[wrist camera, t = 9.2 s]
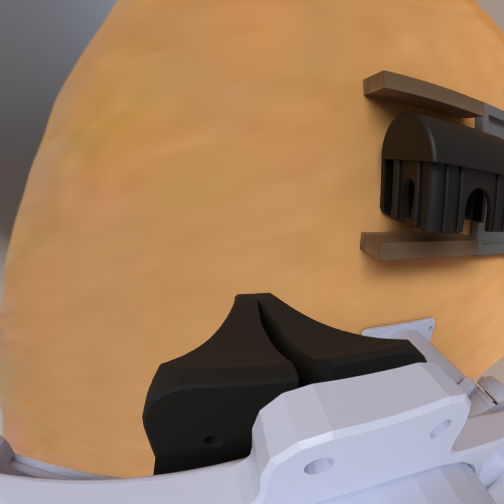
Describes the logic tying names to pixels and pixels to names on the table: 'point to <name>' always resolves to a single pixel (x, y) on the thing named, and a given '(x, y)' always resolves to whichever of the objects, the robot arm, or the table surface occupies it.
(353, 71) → the table surface
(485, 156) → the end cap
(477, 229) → the tray
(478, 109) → the channel walls
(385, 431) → the robot arm
